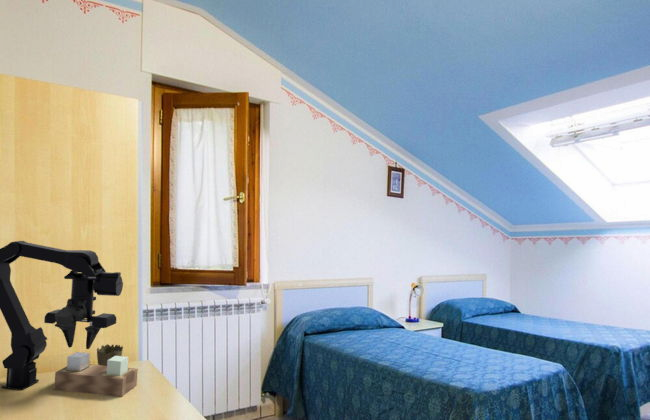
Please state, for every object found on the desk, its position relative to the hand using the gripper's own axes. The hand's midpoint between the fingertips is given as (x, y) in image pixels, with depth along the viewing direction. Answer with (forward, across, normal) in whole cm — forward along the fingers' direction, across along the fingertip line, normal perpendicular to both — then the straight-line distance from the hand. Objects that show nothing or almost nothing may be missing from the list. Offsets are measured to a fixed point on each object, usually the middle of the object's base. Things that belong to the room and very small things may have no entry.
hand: (79, 348), depth 127 cm
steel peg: (+7, 0, 0) cm, 7 cm away
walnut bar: (+11, +6, 0) cm, 13 cm away
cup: (+11, +3, +11) cm, 16 cm away
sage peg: (+7, +12, 0) cm, 14 cm away
